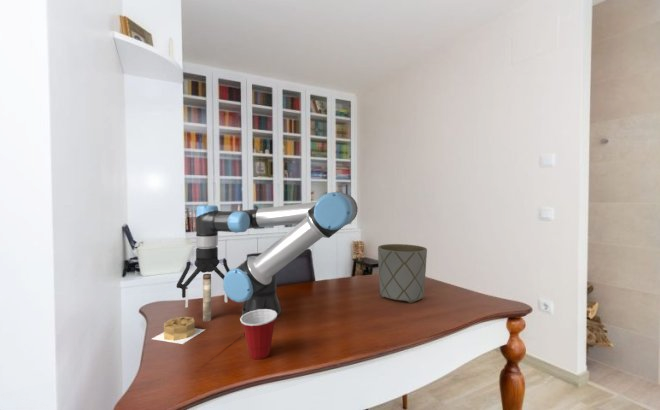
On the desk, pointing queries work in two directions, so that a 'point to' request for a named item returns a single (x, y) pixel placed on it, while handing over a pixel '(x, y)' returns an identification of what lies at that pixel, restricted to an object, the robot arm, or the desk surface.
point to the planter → (402, 271)
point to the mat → (181, 341)
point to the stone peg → (206, 297)
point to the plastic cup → (259, 331)
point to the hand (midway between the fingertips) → (206, 303)
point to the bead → (179, 328)
